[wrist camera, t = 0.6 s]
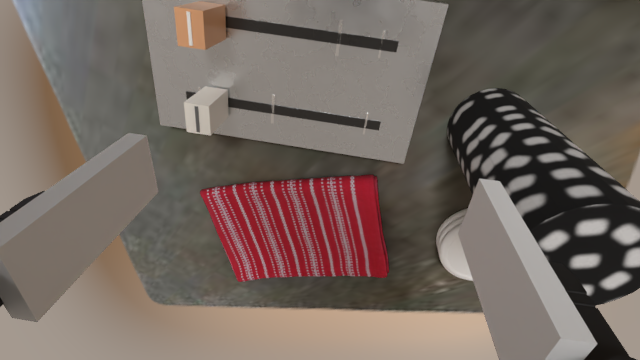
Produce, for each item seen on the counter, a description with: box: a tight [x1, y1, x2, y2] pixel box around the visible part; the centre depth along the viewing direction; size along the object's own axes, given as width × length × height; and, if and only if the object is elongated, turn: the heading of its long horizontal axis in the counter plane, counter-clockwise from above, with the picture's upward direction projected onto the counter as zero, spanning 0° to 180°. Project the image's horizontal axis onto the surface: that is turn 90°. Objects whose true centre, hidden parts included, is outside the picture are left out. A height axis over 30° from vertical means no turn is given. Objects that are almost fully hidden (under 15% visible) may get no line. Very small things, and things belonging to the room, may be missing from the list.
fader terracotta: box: [174, 1, 226, 50], centre depth 30 cm, size 3×2×5 cm
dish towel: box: [200, 175, 389, 282], centre depth 48 cm, size 17×24×3 cm
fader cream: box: [184, 86, 229, 136], centre depth 35 cm, size 3×2×5 cm
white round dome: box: [436, 208, 473, 281], centre depth 44 cm, size 10×10×4 cm
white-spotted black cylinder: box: [447, 88, 640, 305], centre depth 29 cm, size 8×8×20 cm
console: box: [142, 0, 449, 164], centre depth 36 cm, size 16×28×2 cm, turn 83°
